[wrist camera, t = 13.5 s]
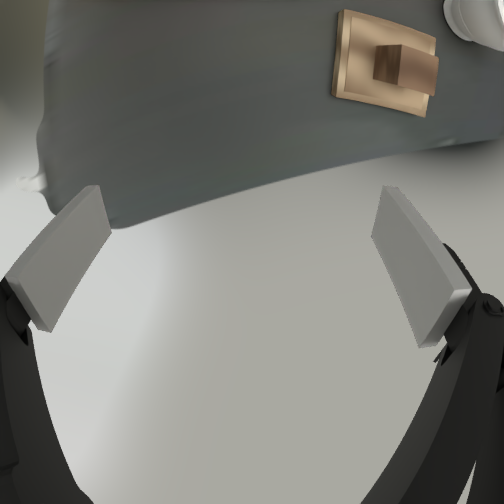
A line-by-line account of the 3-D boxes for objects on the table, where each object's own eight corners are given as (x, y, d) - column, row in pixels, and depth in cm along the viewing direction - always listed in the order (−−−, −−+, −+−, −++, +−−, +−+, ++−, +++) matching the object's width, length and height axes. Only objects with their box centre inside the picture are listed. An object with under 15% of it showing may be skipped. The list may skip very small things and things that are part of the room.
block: (376, 45, 28) (402, 44, 21) (408, 55, 28) (439, 57, 21) (372, 79, 31) (397, 85, 24) (404, 87, 31) (433, 96, 24)
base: (338, 12, 28) (344, 8, 25) (425, 38, 28) (436, 38, 25) (331, 94, 35) (336, 97, 33) (415, 113, 36) (425, 117, 33)
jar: (485, 53, 26) (547, 67, 14) (439, 38, 27) (502, 42, 15) (480, 0, 20) (540, 1, 8) (433, -19, 21) (491, -32, 9)
